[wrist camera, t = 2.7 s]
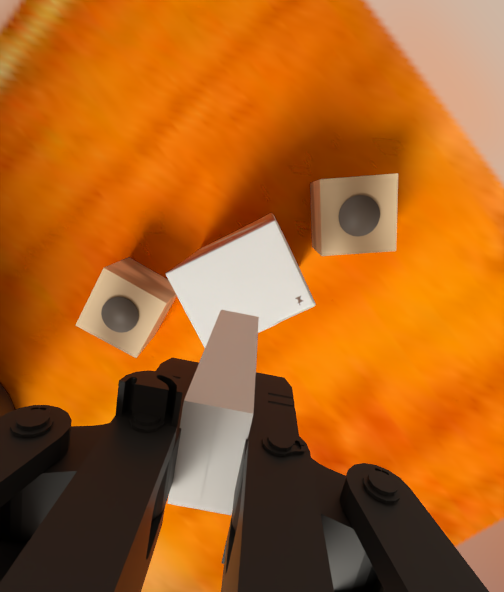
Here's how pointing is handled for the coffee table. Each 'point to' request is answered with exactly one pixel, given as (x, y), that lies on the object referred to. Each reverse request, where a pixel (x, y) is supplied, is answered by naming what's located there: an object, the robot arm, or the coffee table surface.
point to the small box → (242, 279)
